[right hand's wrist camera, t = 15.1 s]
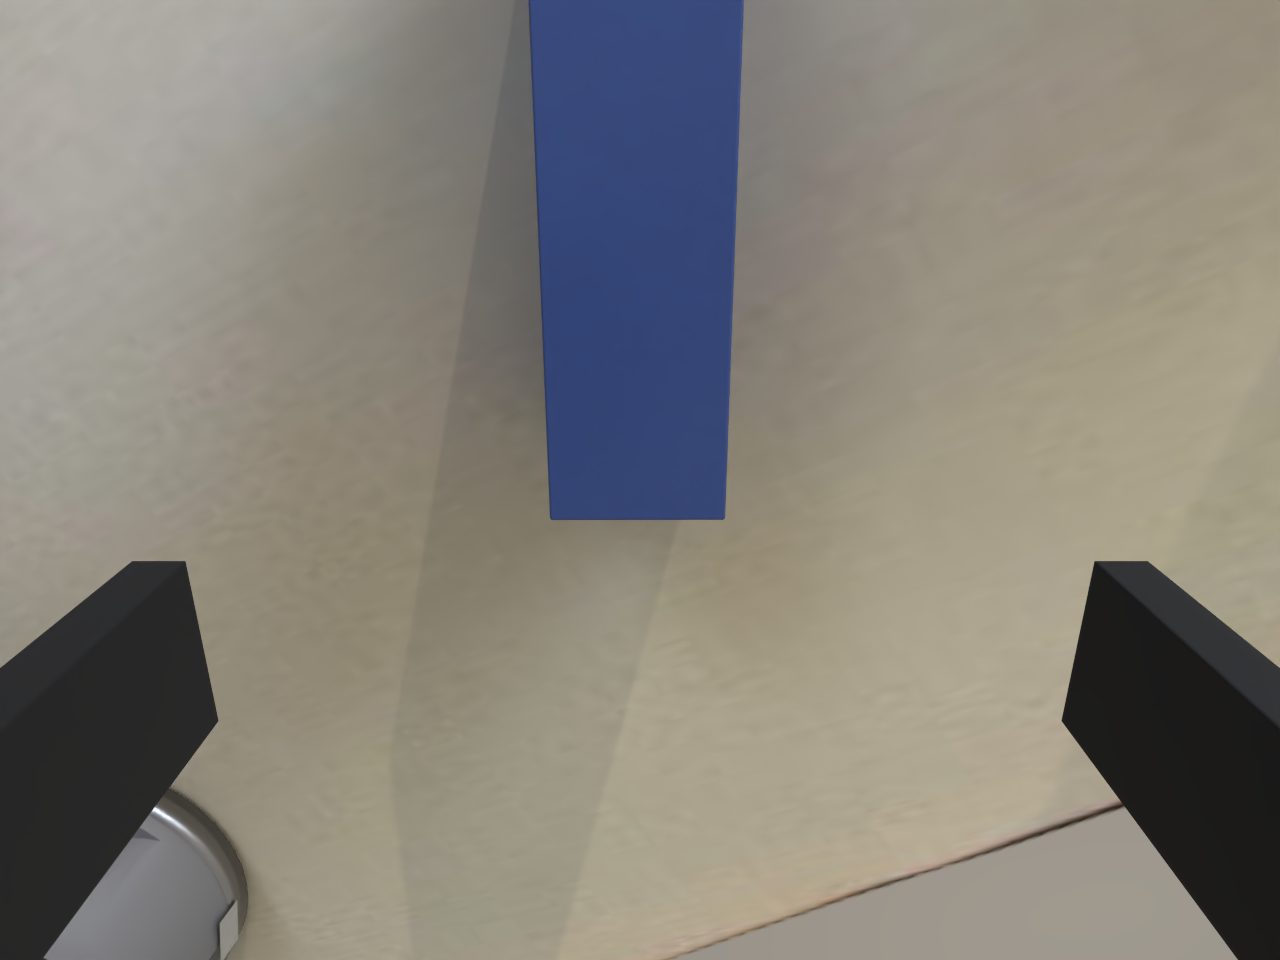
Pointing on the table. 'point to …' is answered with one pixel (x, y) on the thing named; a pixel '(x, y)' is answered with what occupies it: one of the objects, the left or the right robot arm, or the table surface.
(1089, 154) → the table surface
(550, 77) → the bar
